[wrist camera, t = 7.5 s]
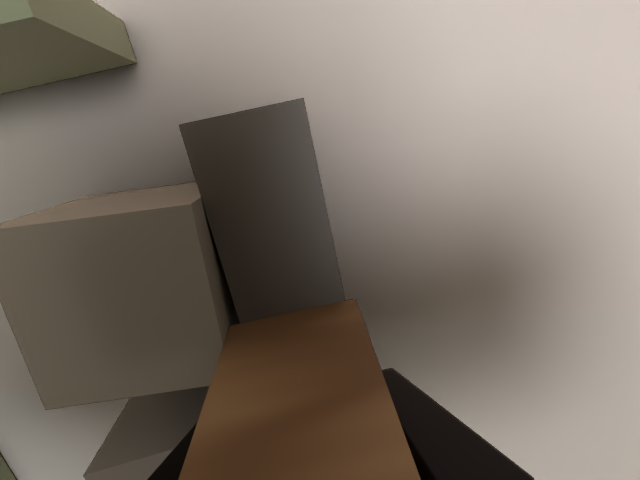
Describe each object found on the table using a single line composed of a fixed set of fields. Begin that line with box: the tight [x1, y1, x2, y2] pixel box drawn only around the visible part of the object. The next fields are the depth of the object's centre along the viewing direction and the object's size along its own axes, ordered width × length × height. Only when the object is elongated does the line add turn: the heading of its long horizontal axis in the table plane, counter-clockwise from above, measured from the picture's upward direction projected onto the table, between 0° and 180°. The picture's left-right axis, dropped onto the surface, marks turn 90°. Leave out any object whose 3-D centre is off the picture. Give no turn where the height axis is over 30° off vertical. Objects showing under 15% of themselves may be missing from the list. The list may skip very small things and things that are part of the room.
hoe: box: [178, 98, 421, 480], centre depth 7 cm, size 3×12×9 cm, turn 11°
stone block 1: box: [0, 182, 240, 410], centre depth 9 cm, size 4×4×4 cm
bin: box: [0, 0, 137, 480], centre depth 10 cm, size 10×18×4 cm, turn 12°
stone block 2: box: [83, 386, 209, 480], centre depth 11 cm, size 4×4×4 cm
